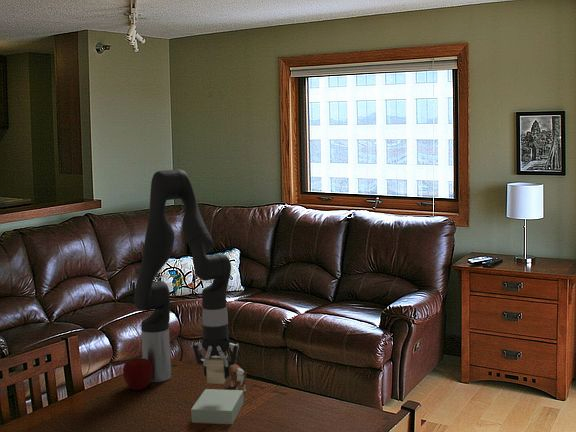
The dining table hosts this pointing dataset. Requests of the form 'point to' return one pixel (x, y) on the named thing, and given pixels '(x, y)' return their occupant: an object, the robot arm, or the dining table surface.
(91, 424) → the dining table surface
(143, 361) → the apple
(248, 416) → the dining table surface
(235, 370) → the bull figurine
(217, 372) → the maple block
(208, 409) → the plinth
